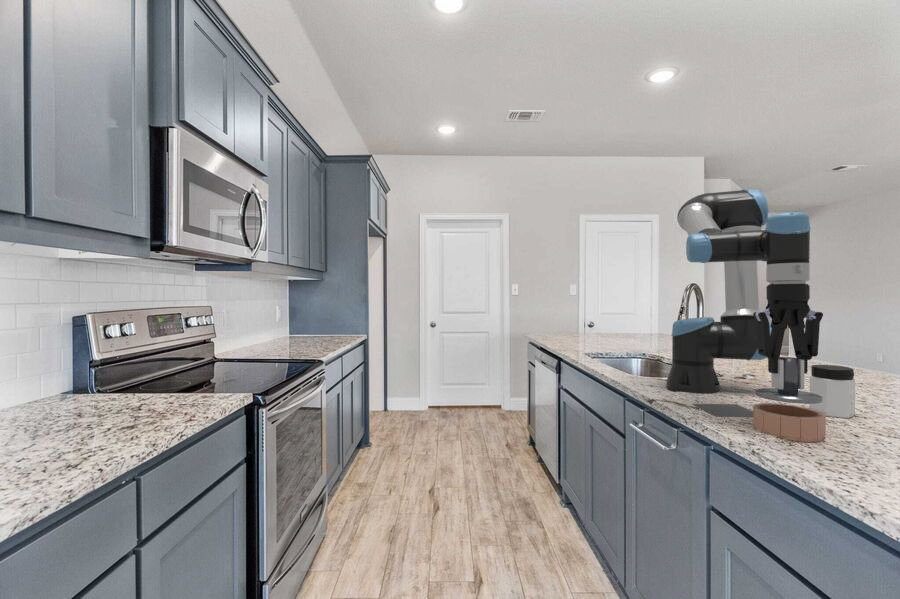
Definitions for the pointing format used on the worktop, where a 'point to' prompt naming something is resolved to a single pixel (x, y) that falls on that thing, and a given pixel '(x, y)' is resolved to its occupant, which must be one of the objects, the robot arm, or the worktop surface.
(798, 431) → the bowl
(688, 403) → the worktop surface
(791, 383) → the lid
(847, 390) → the jar
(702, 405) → the mat
